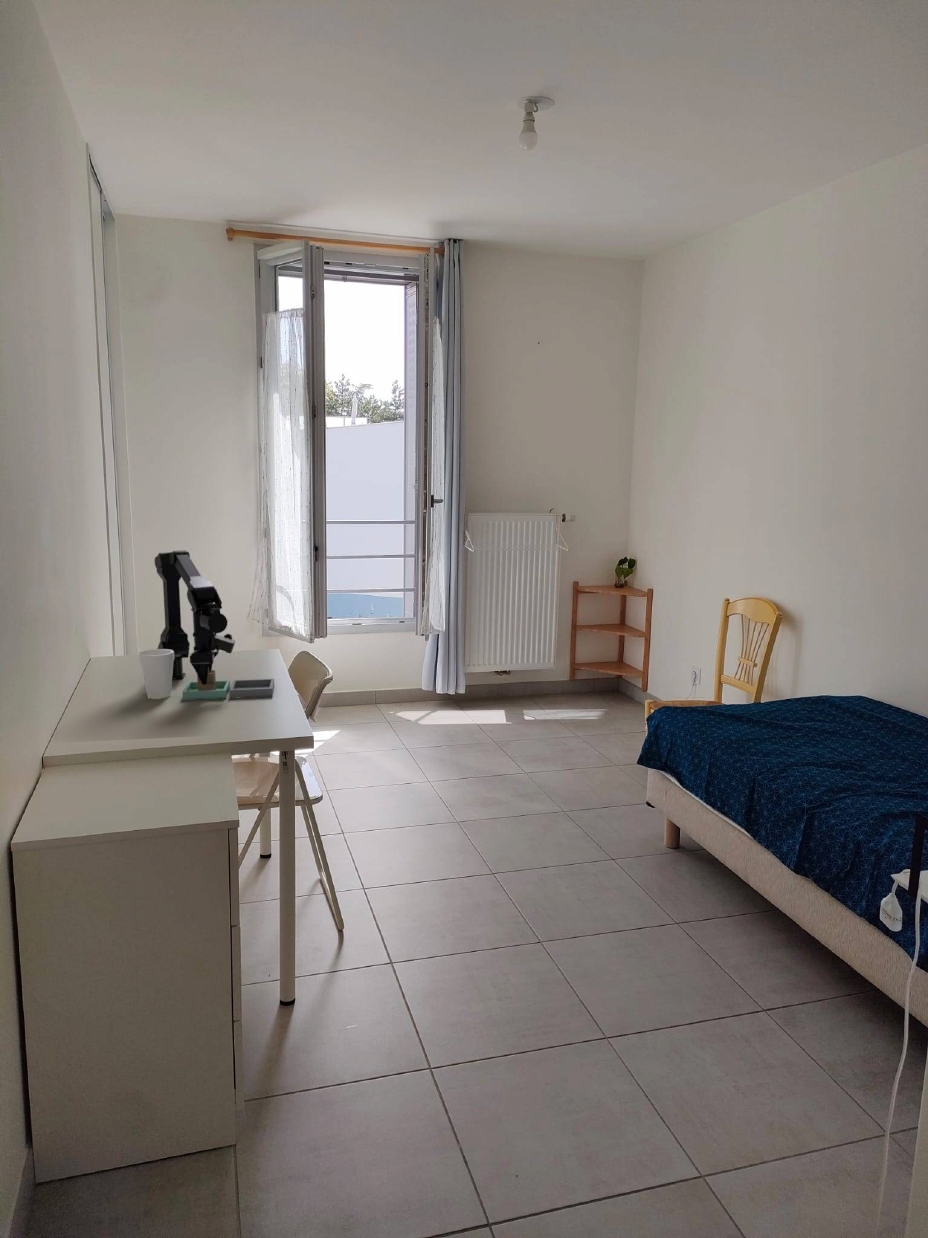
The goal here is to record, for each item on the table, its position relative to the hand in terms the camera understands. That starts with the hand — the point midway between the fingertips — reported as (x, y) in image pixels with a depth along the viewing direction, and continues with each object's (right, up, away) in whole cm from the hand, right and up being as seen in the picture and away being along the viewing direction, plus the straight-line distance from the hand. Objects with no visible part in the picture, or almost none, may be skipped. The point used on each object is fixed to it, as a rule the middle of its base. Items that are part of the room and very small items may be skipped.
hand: (206, 680), depth 256 cm
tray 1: (0, -4, +1) cm, 4 cm away
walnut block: (0, -3, +1) cm, 4 cm away
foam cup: (-13, -5, -1) cm, 14 cm away
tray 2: (+13, -4, +3) cm, 14 cm away
